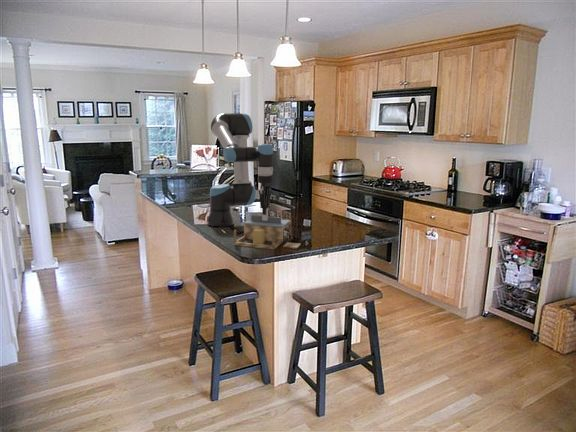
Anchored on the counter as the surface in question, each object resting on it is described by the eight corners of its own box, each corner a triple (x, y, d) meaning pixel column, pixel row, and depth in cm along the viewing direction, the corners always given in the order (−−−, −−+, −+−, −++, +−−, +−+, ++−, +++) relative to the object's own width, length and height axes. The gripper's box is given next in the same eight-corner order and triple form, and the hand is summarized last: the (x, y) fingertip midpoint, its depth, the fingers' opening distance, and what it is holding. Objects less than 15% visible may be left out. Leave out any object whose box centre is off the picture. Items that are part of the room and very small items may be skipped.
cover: (243, 224, 225) (243, 216, 224) (253, 218, 238) (253, 211, 237) (282, 227, 219) (282, 220, 218) (290, 221, 232) (290, 214, 231)
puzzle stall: (233, 245, 215) (233, 230, 213) (254, 231, 241) (254, 218, 240) (274, 249, 209) (274, 234, 207) (291, 234, 235) (291, 221, 234)
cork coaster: (283, 247, 213) (283, 246, 212) (287, 243, 219) (287, 242, 219) (296, 248, 211) (296, 247, 210) (300, 244, 217) (300, 243, 217)
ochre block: (252, 244, 217) (252, 230, 215) (256, 242, 221) (256, 228, 219) (261, 245, 215) (261, 231, 214) (264, 242, 220) (264, 229, 218)
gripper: (268, 176, 212) (267, 223, 218) (276, 173, 225) (275, 218, 230) (253, 176, 215) (253, 222, 220) (262, 173, 227) (262, 217, 232)
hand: (265, 220), depth 225 cm, fingers closed
